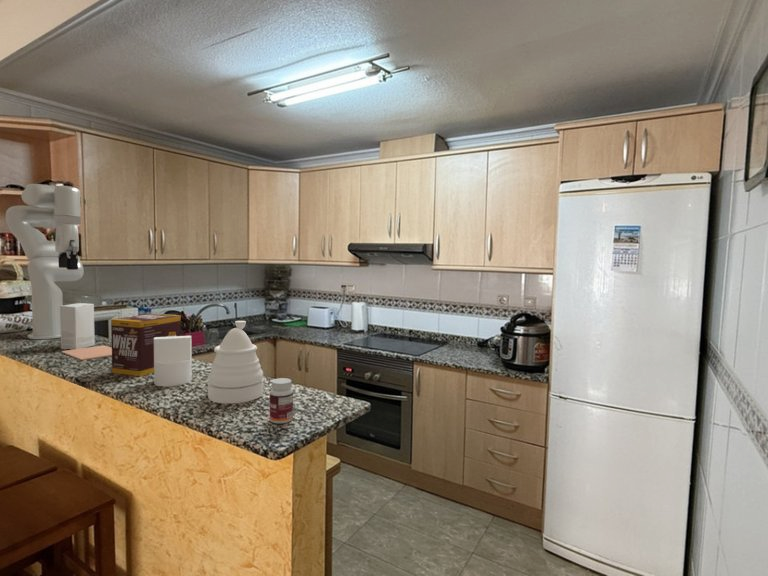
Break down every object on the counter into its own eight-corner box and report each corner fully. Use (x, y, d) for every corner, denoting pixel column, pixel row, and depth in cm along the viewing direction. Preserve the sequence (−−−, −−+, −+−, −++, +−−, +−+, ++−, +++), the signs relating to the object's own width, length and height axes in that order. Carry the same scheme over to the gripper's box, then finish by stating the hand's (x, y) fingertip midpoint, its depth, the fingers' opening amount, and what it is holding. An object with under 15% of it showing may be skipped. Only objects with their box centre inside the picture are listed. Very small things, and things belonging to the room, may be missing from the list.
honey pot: (226, 384, 110) (226, 317, 109) (271, 388, 108) (272, 320, 106) (196, 400, 97) (196, 325, 96) (247, 405, 95) (247, 328, 94)
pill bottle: (266, 417, 88) (267, 379, 87) (288, 414, 90) (288, 376, 90) (273, 425, 84) (273, 385, 83) (295, 421, 86) (296, 382, 86)
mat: (61, 352, 140) (61, 351, 140) (104, 346, 151) (104, 345, 151) (81, 360, 130) (81, 359, 130) (126, 353, 141) (126, 352, 141)
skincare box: (80, 344, 153) (79, 302, 152) (96, 345, 152) (95, 303, 151) (59, 349, 144) (58, 305, 143) (76, 350, 143) (75, 305, 142)
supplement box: (110, 373, 118) (109, 318, 117) (155, 361, 132) (154, 312, 131) (139, 377, 115) (138, 321, 114) (181, 364, 129) (181, 314, 128)
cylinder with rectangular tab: (191, 375, 118) (191, 333, 117) (191, 384, 109) (191, 339, 109) (155, 378, 114) (155, 335, 113) (152, 387, 106) (152, 341, 105)
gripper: (48, 220, 152) (48, 266, 153) (62, 220, 141) (62, 270, 142) (72, 222, 157) (73, 267, 159) (88, 222, 147) (88, 270, 148)
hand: (68, 268), depth 151 cm, fingers open, 9 cm apart
